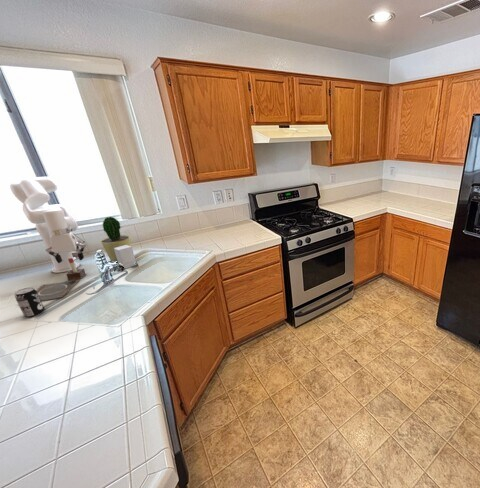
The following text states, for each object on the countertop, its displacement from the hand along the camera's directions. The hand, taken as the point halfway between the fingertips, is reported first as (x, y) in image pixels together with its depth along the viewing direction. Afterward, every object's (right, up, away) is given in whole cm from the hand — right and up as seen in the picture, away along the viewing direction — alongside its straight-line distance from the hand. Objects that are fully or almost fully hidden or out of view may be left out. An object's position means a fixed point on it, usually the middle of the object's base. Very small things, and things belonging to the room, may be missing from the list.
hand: (71, 260), depth 148 cm
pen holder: (0, -10, +4) cm, 11 cm away
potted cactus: (+7, -1, +28) cm, 29 cm away
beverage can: (+12, -22, -29) cm, 38 cm away
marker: (0, -10, +4) cm, 11 cm away
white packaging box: (+18, -5, +19) cm, 27 cm away
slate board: (+1, -16, -11) cm, 19 cm away
